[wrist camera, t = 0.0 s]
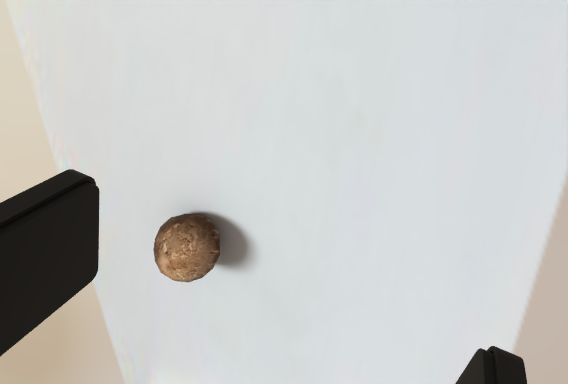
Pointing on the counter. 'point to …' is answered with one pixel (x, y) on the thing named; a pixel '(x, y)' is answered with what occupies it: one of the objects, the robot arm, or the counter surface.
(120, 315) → the counter surface
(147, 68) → the counter surface
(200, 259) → the brown rounded lump
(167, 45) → the counter surface
